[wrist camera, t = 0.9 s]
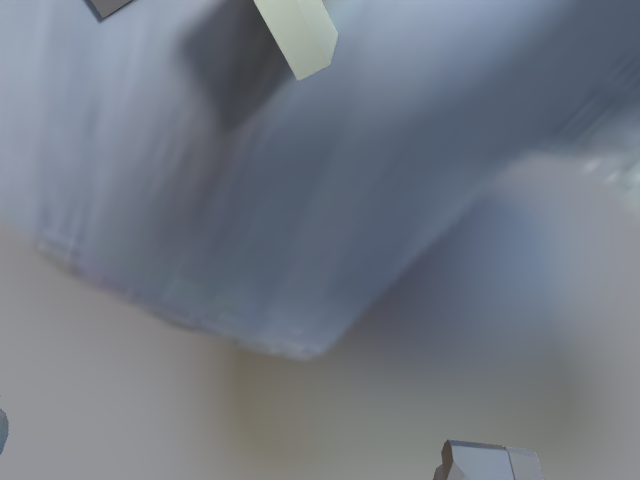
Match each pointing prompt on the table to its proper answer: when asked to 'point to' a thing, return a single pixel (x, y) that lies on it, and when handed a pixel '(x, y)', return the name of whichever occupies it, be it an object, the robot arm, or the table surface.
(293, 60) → the block
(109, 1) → the mat
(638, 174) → the table surface
